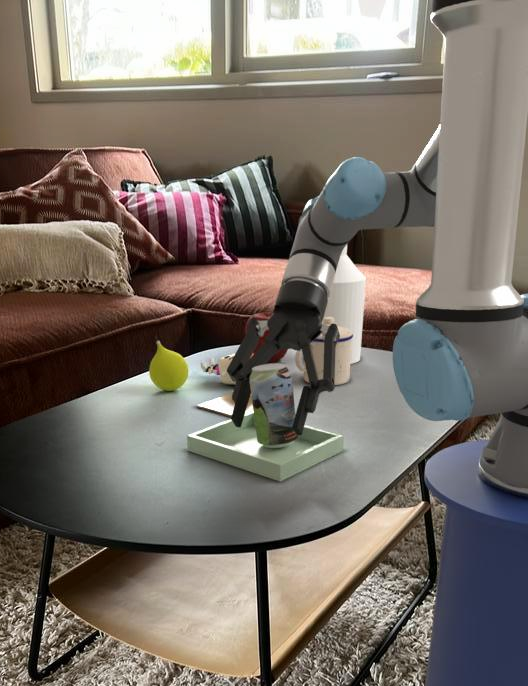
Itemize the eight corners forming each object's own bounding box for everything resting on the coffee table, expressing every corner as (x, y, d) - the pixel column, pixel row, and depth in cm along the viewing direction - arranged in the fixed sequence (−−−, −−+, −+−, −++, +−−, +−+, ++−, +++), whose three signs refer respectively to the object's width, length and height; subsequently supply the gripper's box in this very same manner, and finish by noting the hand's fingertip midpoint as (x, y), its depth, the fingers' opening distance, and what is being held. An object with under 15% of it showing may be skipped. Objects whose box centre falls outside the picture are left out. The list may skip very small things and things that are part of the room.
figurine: (217, 348, 148) (265, 347, 140) (222, 380, 150) (269, 380, 143) (191, 356, 143) (239, 355, 135) (196, 388, 145) (244, 389, 138)
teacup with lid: (328, 370, 150) (331, 310, 145) (360, 381, 143) (364, 318, 138) (280, 381, 144) (281, 318, 139) (311, 392, 137) (313, 327, 132)
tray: (343, 450, 111) (343, 435, 110) (280, 481, 102) (280, 465, 101) (252, 425, 122) (252, 410, 121) (187, 450, 112) (186, 435, 111)
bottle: (354, 350, 164) (361, 226, 153) (367, 364, 153) (375, 233, 142) (300, 352, 163) (302, 228, 152) (308, 366, 153) (312, 234, 142)
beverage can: (286, 455, 109) (288, 373, 104) (241, 447, 112) (240, 367, 107) (305, 441, 114) (307, 362, 109) (261, 434, 117) (261, 356, 112)
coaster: (279, 404, 131) (279, 402, 131) (240, 419, 124) (240, 417, 124) (236, 393, 137) (236, 391, 137) (197, 407, 130) (197, 405, 130)
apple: (288, 354, 162) (289, 306, 157) (294, 366, 153) (295, 316, 149) (244, 355, 161) (243, 307, 157) (247, 367, 153) (246, 317, 148)
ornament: (148, 386, 142) (144, 332, 138) (185, 382, 144) (182, 329, 139) (153, 397, 136) (150, 341, 131) (192, 393, 137) (190, 338, 133)
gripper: (377, 312, 114) (342, 447, 108) (245, 303, 122) (206, 429, 116) (370, 281, 108) (333, 424, 101) (231, 274, 115) (189, 406, 109)
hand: (265, 426), depth 109 cm, fingers open, 9 cm apart
